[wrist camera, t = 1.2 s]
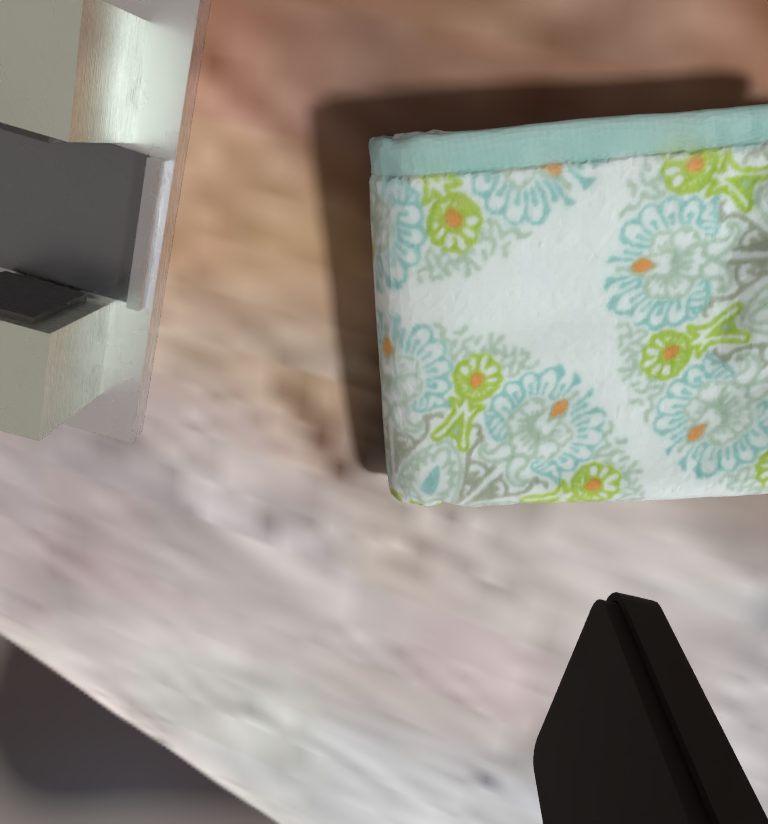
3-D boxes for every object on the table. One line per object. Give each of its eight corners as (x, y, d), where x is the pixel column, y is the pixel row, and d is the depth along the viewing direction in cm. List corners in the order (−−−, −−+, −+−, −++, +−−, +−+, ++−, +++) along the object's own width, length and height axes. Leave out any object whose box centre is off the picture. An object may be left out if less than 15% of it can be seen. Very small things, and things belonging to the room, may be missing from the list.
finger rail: (-14, -84, 29) (-150, -156, 22) (213, -15, 30) (149, -64, 23) (-39, 382, 37) (-144, 436, 30) (142, 431, 38) (78, 495, 31)
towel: (781, 468, 37) (834, 516, 32) (389, 479, 39) (384, 526, 34) (841, 101, 31) (919, 92, 26) (368, 130, 32) (359, 127, 27)
